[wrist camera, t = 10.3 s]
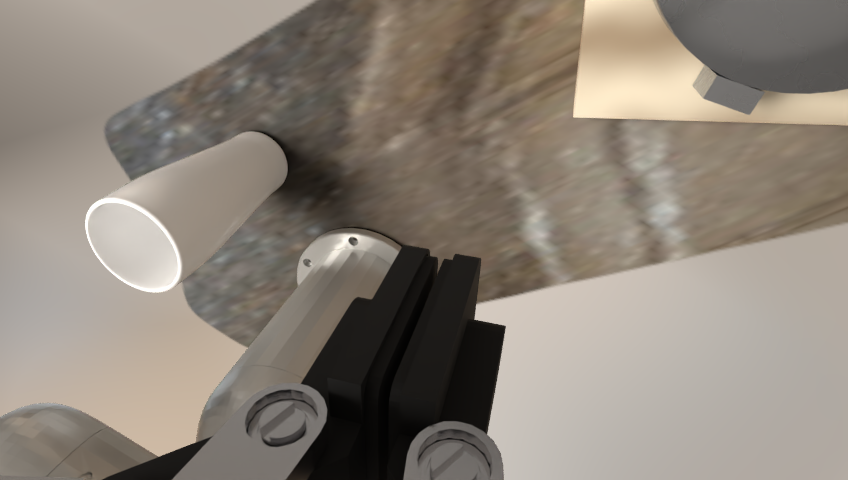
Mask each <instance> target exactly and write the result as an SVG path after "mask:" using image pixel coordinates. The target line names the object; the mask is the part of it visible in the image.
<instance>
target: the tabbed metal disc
mask: <svg viewBox="0 0 848 480" xmlns="http://www.w3.org/2000/svg"><path fill="white" fill-rule="evenodd" d="M653 2H654V4H655V7H656V9H657V11H658V13H659V15H660V16H661V18H662V20H663V21H664V23H665V25H666V26H667V28H668V29H669V30H670V31H671V33H672V34H673V35H674V36H675V37H676V39H677V40H678V41H679V42H680V43H681V44H682V45H683V46H684V47H685V48H686V49H687V50H688V51H689V52H691V53H692V54H693V55H694V56H695V57H696V58H697V59H698V60H700V61H701V62H702V63H703V64H704V67H703V68H702V70H701V72H700V74H699V75H698V77H697V79H696V80H695V82H694V84H693V85H692V86H693V87H694V88H695V89H696V91H697V92H698V93H699V94H700V96H701V97H702V98H703V99H705V100H708V101H711V102H714V103H717V104H719V105H722V106H725V107H728V108H730V109H733V110H736V111H739V112H742V113H744V114H747V115H750V114H751V112H752V111H753V109H754V108H755V106H756V105H757V103H758V102H759V100H760V99H761V98H762V96H763V95H764V93H765V92H764V91H762V90H766V91H773V92H780V93H798V94H812V93H823V92H834V91H840V90H845V89H848V0H653Z"/></svg>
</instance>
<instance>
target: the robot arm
mask: <svg viewBox="0 0 848 480" xmlns="http://www.w3.org/2000/svg"><path fill="white" fill-rule="evenodd" d="M480 267H481V258H477V257H471V256H465V255H459V254H455V256H454V258H453V260H449V259H444V261H443V263H442V265H441V268H440V270H439V272H438V275H437V268H438V258H437V257H432V256H430V251H429V249H425V248H419V247H413V246H407V245H403V247H401V246H400V245H398V244H397V243H395V242H394V241H393V240H391V239H389V238H387V237H385V236H383V235H381V234H378V233H375V232H372V231H369V230H365V229H357V228H341V229H336V230H332V231H329V232H327V233H325V234H323V235H321V236H319V237H318V238H317V239H315V240H314V241H313V242H312V243H311V244H310V245H309V246H308V248H307V249H306V250H305V251H304V253H303V254H302V256H301V258H300V260H299V264H298V268H297V282H298V287H297V288H296V290H295V291H294V292H293V293H292V295H291V296H290V297H289V298H288V300H287V301H286V302H285V303H284V304H283V306H282V307H281V308H280V309H279V311H278V312H277V313H276V314H275V316H274V317H273V318H272V319H271V321H270V322H269V323H268V324H267V325H266V327H265V328H264V329H263V330H262V332H261V333H260V334H259V335H258V337H257V338H256V339H255V340H254V341H253V343H252V344H251V345H250V346H249V348H248V349H247V350H246V351H245V353H244V354H243V355H242V356H241V358H240V359H239V360H238V361H237V362H236V364H235V365H234V366H233V367H232V369H231V370H230V371H229V372H228V374H227V375H226V376H225V377H224V379H223V380H222V381H221V382H220V384H219V385H218V386H217V387H216V389H215V390H214V391H213V393H212V394H211V396H210V397H209V399H208V401H207V403H206V405H205V407H204V409H203V411H202V415H201V418H200V421H199V424H198V430H197V437H196V443H194V444H191V445H188V446H186V447H183V448H181V449H178V450H175V451H173V452H170V453H168V454H165V455H162V456H160V457H158V456H156V455H155V454H153V453H151V452H149V451H148V450H146V449H145V448H143V447H142V446H140V445H138V444H137V443H135V442H133V441H132V440H130V439H129V438H127V437H125V436H124V435H122V434H121V433H119V432H117V431H116V430H114V429H112V428H111V427H109V426H107V425H106V424H104V423H102V422H101V421H99V420H97V419H96V418H93V417H92V416H90V415H88V414H86V413H84V412H82V411H80V410H77V409H75V408H72V407H69V406H66V405H62V404H55V403H39V404H32V405H29V406H24V407H21V408H18V409H16V410H14V411H12V412H9V413H7V414H5V415H3V416H2V417H0V480H504V475H503V463H502V458H501V453H500V451H499V450H498V448H497V446H496V445H495V443H494V441H493V440H492V439H491V438H490V437H489V436H488V435H487V432H488V426H489V420H490V415H491V409H492V404H493V398H494V393H495V388H496V382H497V375H498V370H499V364H500V358H501V352H502V346H503V340H504V334H505V327H506V326H503V325H498V324H493V323H488V322H483V321H478V320H474V317H475V309H476V301H477V292H478V284H479V275H480Z"/></svg>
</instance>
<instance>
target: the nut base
mask: <svg viewBox="0 0 848 480" xmlns="http://www.w3.org/2000/svg"><path fill="white" fill-rule="evenodd" d="M703 67H704V64H703V63H702V62H701V61H700V60H698V59H697V58H696V57H695V56H694V55H693V54H692V53H691V52H689V51H688V50H687V49H686V48H685V47H684V46H683V45H682V44H681V43H680V42H679V41H678V40H677V39H676V37H675V36H674V35H673V34H672V33H671V31H670V30H669V29H668V28H667V26H666V25H665V23H664V21H663V20H662V18H661V16H660V15H659V13H658V11H657V9H656V7H655V4H654V2H653V0H585V3H584V13H583V23H582V32H581V42H580V51H579V61H578V71H577V80H576V90H575V100H574V111H573V117H581V118H615V119H649V120H683V121H717V122H751V123H785V124H819V125H848V89H845V90H840V91H834V92H823V93H812V94H798V93H780V92H773V91H766V90H762V91H764V92H765V93H764V95H763V96H762V98H761V99H760V100H759V102H758V103H757V105H756V106H755V108H754V109H753V111H752V112H751V114H750V115H747V114H744V113H742V112H739V111H736V110H733V109H730V108H728V107H725V106H722V105H719V104H717V103H714V102H711V101H708V100H705V99H703V98H702V97H701V96H700V94H699V93H698V92H697V91H696V89H695V88H694V87H693V86H692V85H693V84H694V82H695V80H696V79H697V77H698V75H699V74H700V72H701V70H702V68H703Z"/></svg>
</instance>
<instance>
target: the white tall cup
mask: <svg viewBox="0 0 848 480" xmlns="http://www.w3.org/2000/svg"><path fill="white" fill-rule="evenodd" d="M287 172H288V164H287V159H286V156H285V154H284V152H283V150H282V149H281V147H280V146H279V145H278V144H277V143H276V142H275V141H274V140H273V139H272V138H270V137H269V136H267V135H265V134H263V133H260V132H254V131H248V132H244V133H241V134H239V135H237V136H235V137H233V138H231V139H230V140H227V141H225V142H223V143H220V144H218V145H216V146H213V147H211V148H208V149H206V150H203V151H201V152H198V153H196V154H193V155H191V156H188V157H186V158H183V159H181V160H178V161H176V162H173V163H171V164H168V165H166V166H163V167H161V168H158V169H156V170H154V171H151V172H149V173H147V174H145V175H143V176H140V177H138V178H136V179H134V180H133V181H131V182H129V183H127V184H125V185H124V186H122V187H120V188H118V189H117V190H115V191H113V192H112V193H110V194H108V195H107V196H105V197H104V198H102V199H100V200H99V201H97V202H95V203H94V204H93V205H92V206H91V207H90V209H89V211H88V213H87V216H86V222H85V227H86V233H87V237H88V240H89V243H90V245H91V247H92V249H93V251H94V252H95V254H96V256H97V257H98V259H99V260H100V261H101V262H102V263H103V265H104V266H105V267H106V268H107V269H108V270H109V271H110V272H111V273H112V274H114V275H115V276H116V277H117V278H119V279H120V280H122V281H123V282H125V283H126V284H128V285H130V286H132V287H134V288H137V289H139V290H143V291H147V292H155V293H156V292H164V291H168V290H170V289H172V288H174V287H175V286H176V285H178V284H179V283H180V282H182V281H183V280H184V279H186V278H187V277H188V276H190V275H191V274H192V273H193V272H195V271H196V270H197V269H198V268H199V267H201V266H202V265H203V264H204V263H205V262H206V261H208V260H209V259H210V258H211V257H212V256H213V255H214V254H215V253H216V252H217V251H218V250H219V249H220V248H221V247H222V246H223V245H224V244H225V243H226V242H227V241H228V240H229V239H230V238H231V236H232V235H233V234H234V233H235V232H236V231H237V230H238V229H239V228H240V227H241V226H242V225H243V223H244V222H245V221H246V220H247V219H248V218H249V217H250V216H251V215H252V214H253V213H254V212H255V211H256V210H257V209H258V207H259V206H260V205H261V204H262V203H263V202H264V201H265V200H266V199H267V198H268V197H269V196H270V195H271V194H272V193H273V192H275V191H276V190H277V189H278V188H279V187H280V186H281V185H282V184H283V183H284V181H285V179H286V177H287Z"/></svg>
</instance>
